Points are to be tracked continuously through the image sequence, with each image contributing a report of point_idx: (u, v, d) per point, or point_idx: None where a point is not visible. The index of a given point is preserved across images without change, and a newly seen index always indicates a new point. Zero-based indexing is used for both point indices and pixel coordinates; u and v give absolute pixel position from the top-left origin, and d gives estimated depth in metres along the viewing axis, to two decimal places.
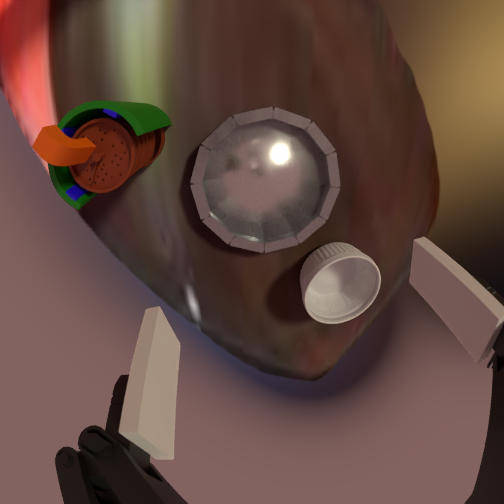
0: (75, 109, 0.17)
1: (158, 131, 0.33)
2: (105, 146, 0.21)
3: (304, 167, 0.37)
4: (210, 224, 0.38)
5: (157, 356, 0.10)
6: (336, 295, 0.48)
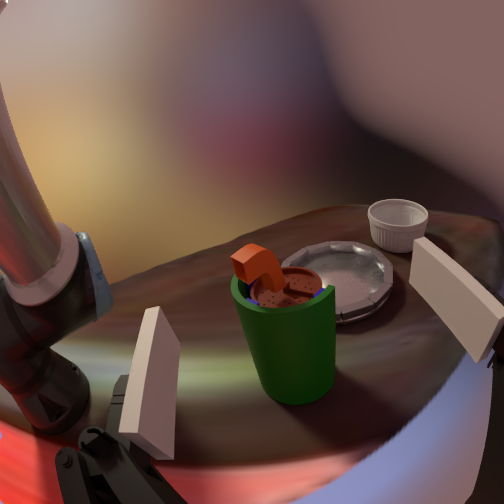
0: (232, 289, 0.26)
1: None
2: None
3: (320, 263, 0.51)
4: (377, 297, 0.38)
5: (157, 356, 0.10)
6: None
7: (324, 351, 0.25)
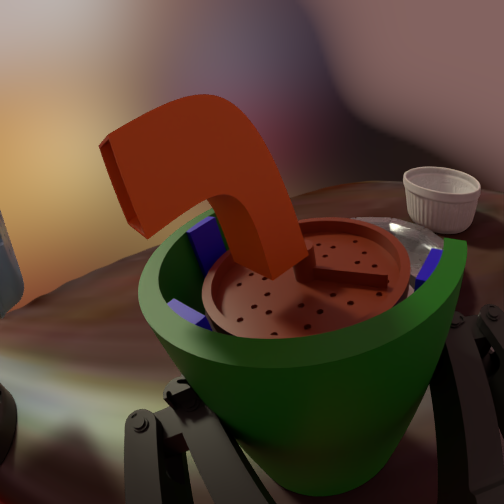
0: (144, 275, 0.08)
1: None
2: None
3: None
4: None
5: None
6: None
7: (405, 425, 0.08)
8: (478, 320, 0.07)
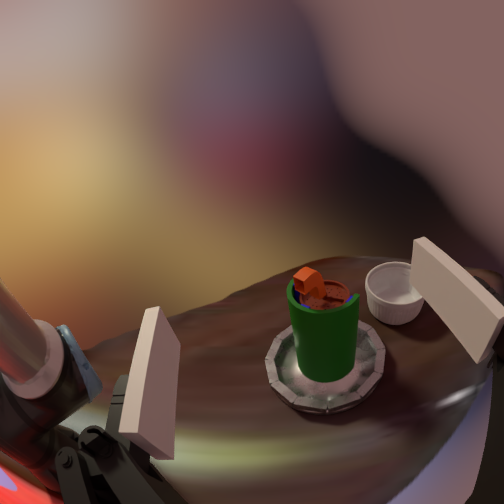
0: (289, 298, 0.36)
1: None
2: None
3: None
4: (364, 390, 0.35)
5: (157, 356, 0.10)
6: (413, 293, 0.51)
7: (350, 339, 0.36)
8: None
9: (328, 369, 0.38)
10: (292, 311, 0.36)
